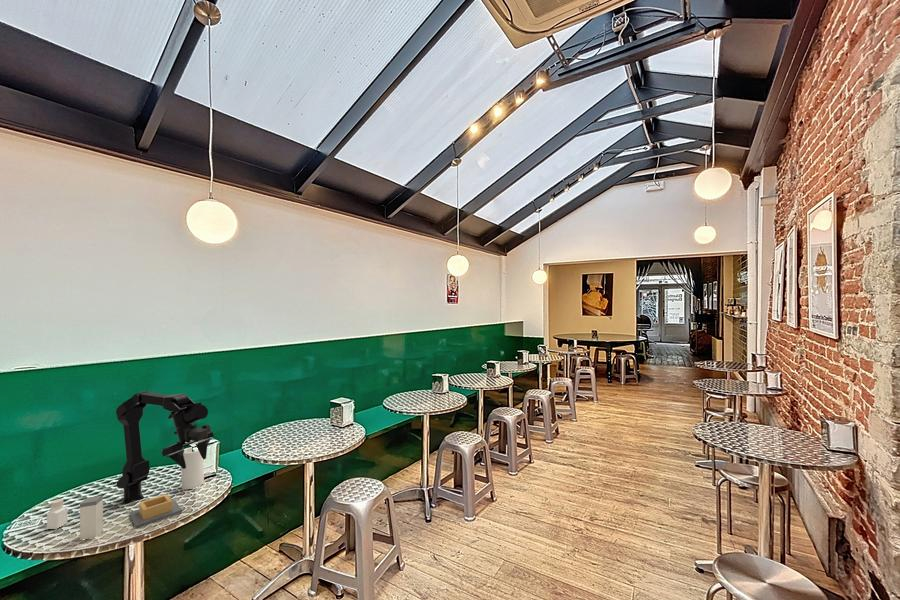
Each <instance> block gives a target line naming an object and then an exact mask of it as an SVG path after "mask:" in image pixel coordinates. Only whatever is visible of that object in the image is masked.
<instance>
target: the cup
mask: <svg viewBox="0 0 900 600" xmlns="http://www.w3.org/2000/svg"><path fill="white" fill-rule="evenodd" d="M192 447H193V446H191V447H190V446H189V447H187V448H184V449H183V450H184V453H183V456H184V460H185V463H186V468H185V469H183V468H182V467H181V466H180V468H181V469H180V470H181V471H180V472H181V473H180V477H181V490H182V489H185V490H184V491H187V490H186V489H192V490H194V489H193V488H196V487H199V486H201V485H202V484H203V485H204V484H205V465H204V463H205V461H204V460H205V459H203V458H202V457H201V455H200V452H199V450H198V451H194V452H192ZM203 485H202V486H203ZM202 486H201V487H202ZM199 488H200V487H199ZM196 489H197V488H196Z"/></svg>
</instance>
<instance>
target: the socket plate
mask: <svg viewBox="0 0 900 600" xmlns="http://www.w3.org/2000/svg"><path fill="white" fill-rule="evenodd" d="M181 513H183V508H182V507H181V506H180V505H179V503H178V502H177V501H176V499H175V498H171V497H170V496H169V495H168V493H166V494H163V495H159V496H156V497H153V498H150V499H146V500H142V501H140V502H139V503H138V509H135V510H132V511H129V513H128V514H129V517H130V520H131V519H132V520H131V522H132V524H133V525H134V529H138V528H141V527H143V526H147V525H150V524H152V523H155V522H158V521H162V520H164V519H167V518H170V517H173V516H177V515H179V514H181Z"/></svg>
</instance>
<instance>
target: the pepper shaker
mask: <svg viewBox="0 0 900 600" xmlns="http://www.w3.org/2000/svg"><path fill="white" fill-rule="evenodd" d="M66 523H67V524H68V507H66V506H64V499H63V498H58V499H55V500H52V501H50V510H49V511H48V512H47V513H46V529H47V530H48V529H55V530H57V529H56V528H59V527H61V526H63V525H64V524H66ZM67 524H66V525H67ZM64 526H65V525H64ZM64 526H63V527H64ZM61 528H62V527H61ZM59 529H60V528H59Z"/></svg>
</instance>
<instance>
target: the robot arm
mask: <svg viewBox="0 0 900 600" xmlns="http://www.w3.org/2000/svg"><path fill="white" fill-rule="evenodd" d="M148 405H152V406H159V407H162V408H163V410H165V411H168V412H170V414H169V415H168V417H167V419H168V420H171V419H172V421H173V423H174V424H173V425H174V427H175V428H174V429H175V431H174V432H173V434H174V435H177V439H178V441H176V443H174V444H172V445H169V446H166V447H164V448H162V450H161V455H162V457H165V456H166V458H170V459H171V460H173V461H174V462H175V463H176V464H177V465H178V466H180V468H181V467H182V468H183V469H185V468H186V463H185V460H184V456H183V453H184V449H183V448H185V447H188V446H191V445H192V444H195V446H197V448H198V450H199V452H200V455H201V457H202V458H203V459H204V460H206V459H207V455H208V454H207V453H208V452H207V451H208V445H209V443H210V441H211V440H212V439H213V437H215V435H214V432H213V431H212V429H211V425H210V424H204V425H202V426H201V427H197V424H196V422H198V421H201V420H204V419H205V418H207V417H208V414H209V409H208V408H207V406H205V405H204V404H202V402H201V401H199V402H195V401H193V399H191V398H190V397H189V396H188V394H185V393H178V394H165V393H164V394H162V393H155V392H151V391H140V392H136V393H135V394H133V395H132V396H131V397H130V398H128V399H126V400H125V401H123V402H122V403H121V404H119V405H118V407H117V408H116V409H115V414H116V418H117V421H118V423H120V424H121V425H122V426H123V432H124V433H123V434H124V445H125V453H126V454H125V455H126V462H125V464H124V466H123V467H122V474H121V476H120V478H119V479H118V481H116V483H115V484H116V487H117V489H123V496H122V498H121V502H122V504H128V503H131V502H134V501H135V502H136V501H138V500H141V499H144V498H145V496H144V494H143V492H142V482H144V481H147V479H148V477H149V474H150V470H151V468H150V460H148V459H145V458H144V457H143V451H142V442H141V441H142V440H141V430H140V421H141V419H142V418H143V416H144V409H145V408H146V407H147V406H148ZM194 423H195V424H194Z"/></svg>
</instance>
